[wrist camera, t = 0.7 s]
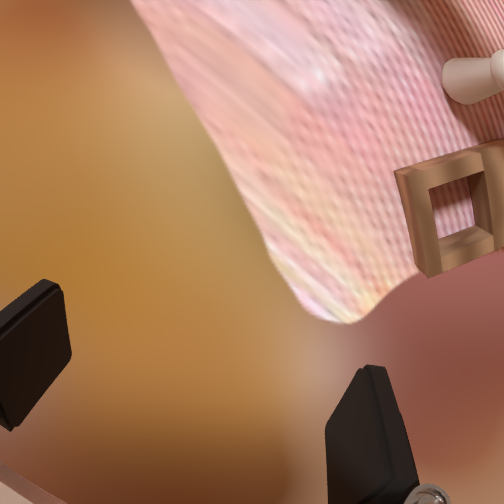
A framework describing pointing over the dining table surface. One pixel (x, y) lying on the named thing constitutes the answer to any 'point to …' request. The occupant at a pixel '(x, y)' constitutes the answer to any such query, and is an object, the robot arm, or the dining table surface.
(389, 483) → the robot arm
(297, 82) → the dining table surface
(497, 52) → the salt shaker
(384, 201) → the dining table surface
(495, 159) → the caddy
